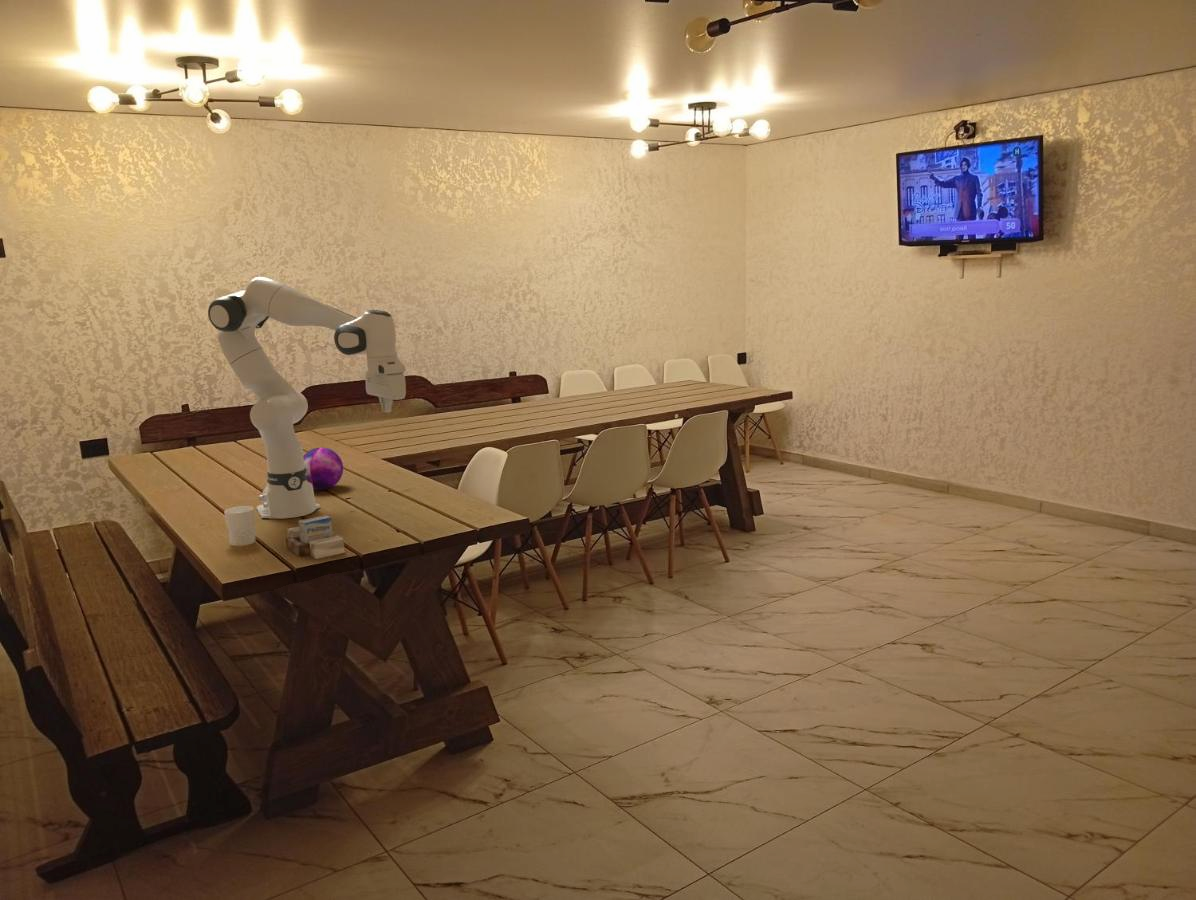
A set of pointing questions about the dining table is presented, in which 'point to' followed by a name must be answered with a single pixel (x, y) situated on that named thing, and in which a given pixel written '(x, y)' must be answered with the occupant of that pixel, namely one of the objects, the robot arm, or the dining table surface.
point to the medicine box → (315, 529)
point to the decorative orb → (323, 468)
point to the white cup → (240, 525)
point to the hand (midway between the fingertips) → (386, 412)
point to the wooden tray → (314, 545)
